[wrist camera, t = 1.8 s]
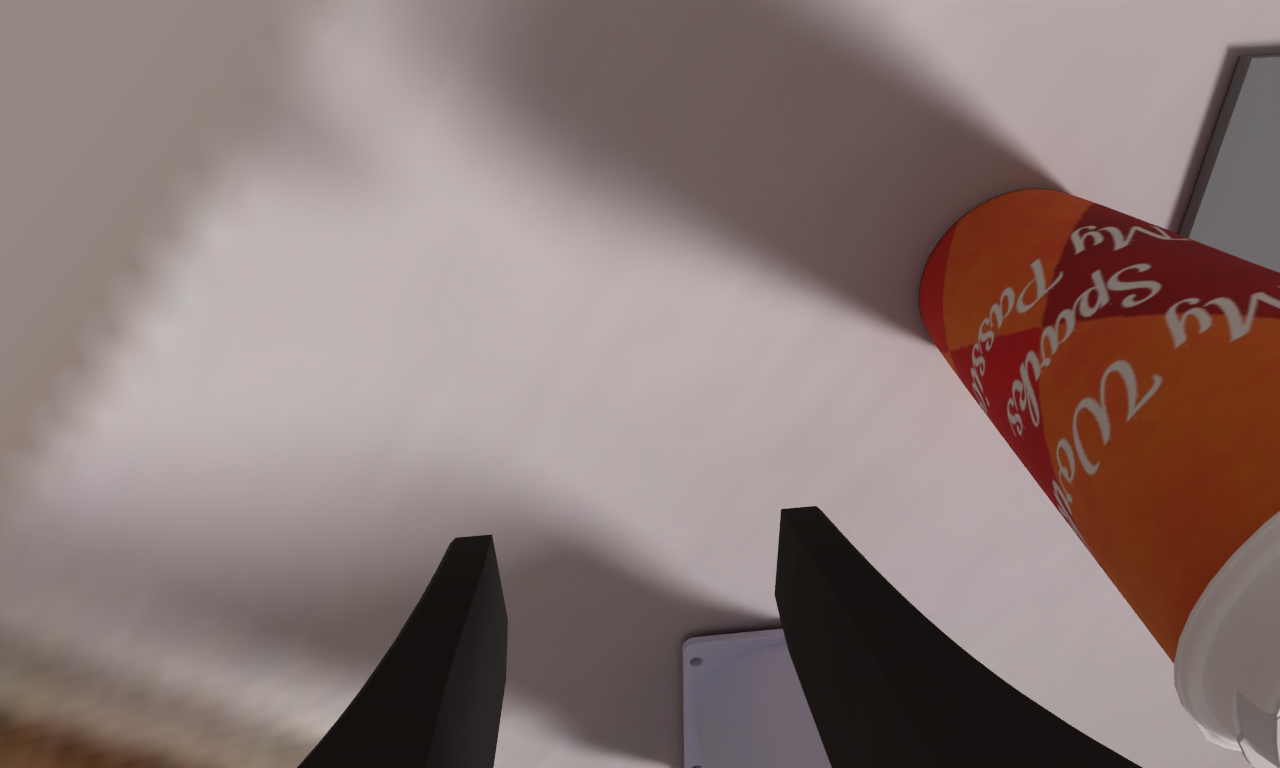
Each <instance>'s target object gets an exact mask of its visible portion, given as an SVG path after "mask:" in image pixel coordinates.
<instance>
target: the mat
mask: <svg viewBox="0 0 1280 768" xmlns="http://www.w3.org/2000/svg"><path fill="white" fill-rule="evenodd" d="M1179 235H1182V236H1184V237H1187V238H1189V239H1192V240H1195V241H1197V242H1200V243H1202V244H1205V245H1208V246H1210V247H1213V248H1215V249H1218V250H1221V251H1223V252H1226V253H1228V254H1231V255H1234V256H1236V257H1239V258H1241V259H1244V260H1247V261H1249V262H1252V263H1254V264H1257V265H1260V266H1263V267H1266V268H1268V269H1271V270H1274V271H1277V272H1279V273H1280V54H1271V55H1253V56H1240V58H1239V61H1238V64H1237V67H1236V70H1235V73H1234V76H1233V78H1232V81H1231V84H1230V87H1229V90H1228V93H1227V96H1226V99H1225V102H1224V105H1223V107H1222V110H1221V113H1220V116H1219V119H1218V122H1217V125H1216V128H1215V131H1214V134H1213V136H1212V139H1211V142H1210V145H1209V148H1208V151H1207V154H1206V157H1205V160H1204V163H1203V165H1202V168H1201V171H1200V174H1199V177H1198V180H1197V183H1196V186H1195V189H1194V192H1193V194H1192V197H1191V200H1190V203H1189V206H1188V209H1187V212H1186V215H1185V218H1184V221H1183V224H1182V226H1181V229H1180V232H1179Z"/></svg>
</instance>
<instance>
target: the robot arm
mask: <svg viewBox="0 0 1280 768" xmlns="http://www.w3.org/2000/svg"><path fill="white" fill-rule="evenodd" d="M775 598H776V602H777V606H778V610H779V615H780V619H781V623H782V627H783V629H773V630H763V631H752V632H742V633H732V634H721V635H711V636H701V637H693V638H690V639H688V640H686V641H685V642H684V644H683V647H682V655H683V733H684V768H1142V767H1140V766H1139V765H1137V764H1135V763H1133V762H1132V761H1130V760H1128V759H1126V758H1125V757H1123V756H1121V755H1119V754H1118V753H1116V752H1114V751H1113V750H1111V749H1109V748H1107V747H1106V746H1104V745H1102V744H1100V743H1099V742H1097V741H1095V740H1093V739H1092V738H1090V737H1089V736H1087V735H1085V734H1084V733H1082V732H1080V731H1079V730H1077V729H1076V728H1074V727H1072V726H1071V725H1069V724H1068V723H1066V722H1065V721H1063V720H1061V719H1060V718H1058V717H1057V716H1055V715H1054V714H1052V713H1051V712H1049V711H1048V710H1046V709H1045V708H1043V707H1042V706H1040V705H1039V704H1037V703H1036V702H1034V701H1033V700H1031V699H1030V698H1028V697H1027V696H1025V695H1024V694H1022V693H1021V692H1019V691H1018V690H1016V689H1015V688H1014V687H1012V686H1011V685H1009V684H1008V683H1007V682H1005V681H1004V680H1002V679H1001V678H1000V677H998V676H997V675H996V674H994V673H993V672H992V671H990V670H989V669H988V668H987V667H985V666H984V665H983V664H981V663H980V662H979V661H977V660H976V659H975V658H973V657H972V656H971V655H970V654H968V653H967V652H966V651H965V650H963V649H962V648H961V647H960V646H959V645H957V644H956V643H955V642H954V641H953V640H951V639H950V638H949V637H948V636H947V635H945V634H944V633H943V632H942V631H941V630H940V629H939V628H938V627H936V626H935V625H934V624H933V623H932V622H931V621H930V620H928V619H927V618H926V617H925V616H924V615H923V614H922V613H921V612H920V611H918V610H917V609H916V608H915V607H914V606H913V605H912V604H911V603H910V602H909V601H908V600H907V599H906V598H905V597H903V596H902V595H901V594H900V593H899V592H898V591H897V590H896V589H895V588H894V587H893V586H892V585H891V584H890V583H889V582H888V581H887V580H886V579H885V578H884V577H883V576H882V575H881V574H880V573H879V572H878V571H877V570H876V569H875V568H874V567H873V566H872V565H871V564H870V563H869V562H868V561H867V560H866V559H865V558H864V556H863V555H862V554H861V553H860V552H859V551H858V550H857V549H856V548H855V547H854V546H853V545H852V544H851V543H850V542H849V540H848V539H847V538H846V537H845V536H844V535H843V534H842V533H841V532H840V531H839V530H838V528H837V527H836V526H835V525H834V524H833V523H832V522H831V521H830V520H829V518H828V517H827V516H826V515H825V514H824V513H823V512H822V511H821V510H820V509H819V508H818V507H817V506H812V507H801V508H789V509H781V520H780V533H779V546H778V559H777V572H776V585H775ZM507 625H508V619H507V614H506V608H505V603H504V597H503V592H502V586H501V581H500V576H499V570H498V565H497V559H496V554H495V549H494V543H493V538H492V535H483V536H472V537H460V538H455V539H454V540H453V541H452V542H451V543H450V545H449V547H448V549H447V551H446V553H445V555H444V557H443V559H442V561H441V563H440V565H439V566H438V568H437V570H436V572H435V574H434V576H433V578H432V579H431V581H430V583H429V585H428V587H427V588H426V590H425V592H424V594H423V595H422V597H421V599H420V601H419V602H418V604H417V606H416V607H415V609H414V611H413V612H412V614H411V615H410V617H409V619H408V620H407V622H406V623H405V625H404V627H403V628H402V630H401V632H400V633H399V635H398V636H397V638H396V640H395V641H394V643H393V644H392V646H391V647H390V649H389V650H388V652H387V653H386V654H385V656H384V657H383V659H382V660H381V662H380V663H379V665H378V666H377V667H376V669H375V670H374V672H373V673H372V675H371V676H370V677H369V679H368V680H367V682H366V683H365V685H364V686H363V687H362V689H361V690H360V692H359V693H358V694H357V695H356V697H355V698H354V699H353V701H352V702H351V703H350V705H349V706H348V707H347V709H346V710H345V711H344V713H343V714H342V715H341V716H340V718H339V719H338V720H337V721H336V723H335V724H334V725H333V726H332V727H331V729H330V730H329V731H328V732H327V734H326V735H325V736H324V737H323V739H322V740H321V741H320V742H319V743H318V744H317V746H316V747H315V748H314V749H313V750H312V751H311V752H310V754H309V755H308V756H307V757H306V758H305V759H304V760H303V761H302V763H301V764H300V765H299V766H298V767H297V768H493V766H494V759H495V752H496V745H497V738H498V731H499V724H500V717H501V710H502V703H503V696H504V688H505V681H506V662H507ZM696 657H697V658H696Z"/></svg>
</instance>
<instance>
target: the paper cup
mask: <svg viewBox="0 0 1280 768" xmlns="http://www.w3.org/2000/svg"><path fill="white" fill-rule="evenodd" d="M919 307H920V313H921V317H922V320H923V323H924V325H925V327H926V329H927V331H928V333H929V335H930V337H931V338H932V340H933V341H934V343H935V345H936V346H937V348H938V349H939V350H940V352H941V353H942V355H943V356H944V358H945V359H946V360H947V362H948V363H949V365H950V366H951V368H952V369H953V370H954V372H955V373H956V374H957V376H958V377H959V378H960V380H961V381H962V383H963V384H964V385H965V387H966V388H967V389H968V391H969V392H970V393H971V395H972V396H973V397H974V399H975V400H976V401H977V403H978V404H979V406H980V407H981V408H982V410H983V411H984V412H985V414H986V415H987V416H988V418H989V419H990V420H991V422H992V423H993V424H994V426H995V427H996V428H997V430H998V431H999V432H1000V434H1001V435H1002V436H1003V438H1004V439H1005V440H1006V442H1007V443H1008V444H1009V446H1010V447H1011V448H1012V450H1013V451H1014V452H1015V454H1016V455H1017V456H1018V458H1019V459H1020V460H1021V462H1022V463H1023V464H1024V466H1025V467H1026V468H1027V470H1028V471H1029V472H1030V474H1031V475H1032V476H1033V478H1034V479H1035V480H1036V482H1037V483H1038V484H1039V486H1040V487H1041V488H1042V490H1043V491H1044V492H1045V493H1046V495H1047V496H1048V497H1049V499H1050V500H1051V501H1052V503H1053V504H1054V505H1055V507H1056V508H1057V509H1058V511H1059V512H1060V513H1061V515H1062V516H1063V517H1064V519H1065V520H1066V521H1067V523H1068V524H1069V525H1070V527H1071V528H1072V529H1073V531H1074V532H1075V533H1076V534H1077V536H1078V537H1079V538H1080V540H1081V541H1082V542H1083V544H1084V545H1085V546H1086V548H1087V549H1088V550H1089V552H1090V553H1091V554H1092V556H1093V557H1094V558H1095V560H1096V561H1097V562H1098V564H1099V565H1100V566H1101V568H1102V569H1103V570H1104V572H1105V573H1106V574H1107V576H1108V577H1109V578H1110V579H1111V581H1112V582H1113V583H1114V585H1115V586H1116V587H1117V589H1118V590H1119V591H1120V593H1121V594H1122V595H1123V597H1124V598H1125V599H1126V601H1127V602H1128V603H1129V605H1130V606H1131V607H1132V609H1133V610H1134V611H1135V613H1136V614H1137V615H1138V617H1139V618H1140V619H1141V621H1142V622H1143V623H1144V625H1145V626H1146V627H1147V629H1148V630H1149V631H1150V633H1151V634H1152V635H1153V636H1154V638H1155V639H1156V640H1157V642H1158V643H1159V644H1160V646H1161V647H1162V648H1163V650H1164V651H1165V652H1166V654H1167V655H1168V656H1169V658H1170V659H1171V660H1172V662H1173V663H1174V679H1175V687H1176V690H1177V693H1178V696H1179V699H1180V702H1181V704H1182V706H1183V707H1184V708H1185V709H1186V711H1187V712H1188V713H1189V715H1190V716H1191V717H1192V719H1193V720H1194V722H1195V723H1196V725H1197V727H1198V728H1199V730H1200V732H1201V733H1202V735H1203V736H1204V738H1205V739H1206V740H1208V741H1211V742H1213V743H1215V744H1218V745H1220V746H1222V747H1225V748H1228V749H1232V750H1237V751H1242V753H1243V755H1244V757H1245V758H1246V760H1247V761H1248V762H1249V763H1250V764H1251V765H1252V766H1253V767H1255V768H1280V273H1279V272H1277V271H1274V270H1271V269H1268V268H1266V267H1263V266H1260V265H1257V264H1254V263H1252V262H1249V261H1247V260H1244V259H1241V258H1239V257H1236V256H1234V255H1231V254H1228V253H1226V252H1223V251H1221V250H1218V249H1215V248H1213V247H1210V246H1208V245H1205V244H1202V243H1200V242H1197V241H1195V240H1192V239H1189V238H1187V237H1184V236H1182V235H1179V234H1176V233H1174V232H1171V231H1169V230H1166V229H1163V228H1161V227H1158V226H1155V225H1153V224H1150V223H1148V222H1145V221H1142V220H1140V219H1137V218H1134V217H1132V216H1129V215H1126V214H1124V213H1121V212H1118V211H1116V210H1113V209H1110V208H1108V207H1105V206H1102V205H1099V204H1096V203H1093V202H1091V201H1088V200H1085V199H1082V198H1079V197H1076V196H1073V195H1069V194H1066V193H1062V192H1059V191H1054V190H1048V189H1023V190H1017V191H1012V192H1009V193H1005V194H1002V195H999V196H997V197H994V198H992V199H990V200H988V201H986V202H984V203H982V204H980V205H979V206H977V207H975V208H974V209H972V210H971V211H969V212H968V213H967V214H965V215H964V216H963V217H962V218H960V219H959V220H958V221H957V222H956V223H955V224H954V225H953V226H952V227H951V228H950V229H949V230H948V231H947V232H946V233H945V235H944V236H943V237H942V238H941V240H940V241H939V242H938V244H937V245H936V247H935V248H934V250H933V252H932V254H931V255H930V257H929V259H928V261H927V264H926V266H925V269H924V272H923V275H922V279H921V283H920V289H919Z"/></svg>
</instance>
